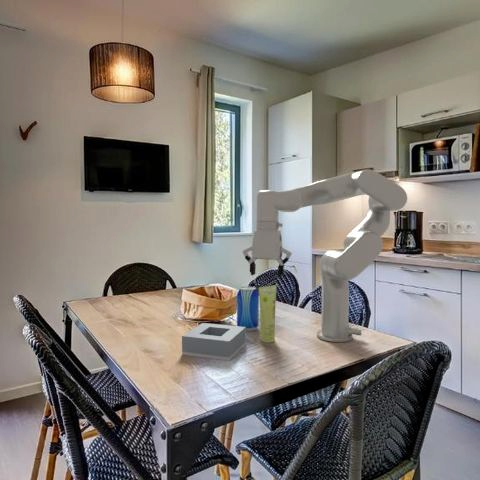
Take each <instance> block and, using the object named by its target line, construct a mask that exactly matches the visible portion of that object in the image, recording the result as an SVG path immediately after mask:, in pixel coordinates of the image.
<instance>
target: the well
mask: <svg viewBox="0 0 480 480" xmlns="http://www.w3.org/2000/svg"><path fill="white" fill-rule="evenodd" d="M246 332H247V331H246V327H240V326H237V325H228V324H217V323H210V322H209V323H207V322H202V323H200V324H199V325H198V326H197V325H196V326H195V327H194V328H192V329H191V330H189V331H188V332H186V333H184V334H183V335H182V336H181V355H182V356H188V357H190V356H191V357H197V358H203V359H204V358H206V359H214V360H220V361H221V360H222V361H229V362H230V361H231V360H232V359H233V357H235V355H237V353H239V352H240V351H241V350H242V349H243V348H244V347H245V345H246V343H247V342H246V339H247V337H246V335H247V333H246Z"/></svg>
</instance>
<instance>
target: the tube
mask: <svg viewBox="0 0 480 480" xmlns="http://www.w3.org/2000/svg"><path fill="white" fill-rule="evenodd" d="M258 294H259V316H260V317H259V318H260V319H259V321H260V341H261V342H262V343H267V344H268V343H273V342H275V340H276V305H277V304H276V303H277V302H276V301H277V284H274V285H268V286H267V285H266V286H260V287H258Z"/></svg>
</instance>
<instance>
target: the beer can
mask: <svg viewBox="0 0 480 480" xmlns="http://www.w3.org/2000/svg"><path fill="white" fill-rule="evenodd" d="M259 316H260V299H259V291H258V290H257V287H256V286H240V287H239V290H238V291H237V294H236V326H240V327H246V332H254V331H256V330H257V328H258V327H259V326H260V325H259V321H260V319H259V318H260V317H259Z"/></svg>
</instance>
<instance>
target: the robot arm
mask: <svg viewBox="0 0 480 480" xmlns="http://www.w3.org/2000/svg"><path fill="white" fill-rule="evenodd" d="M363 195H364V196H366V195H367V196H368V200H367V201H368V213H367V216H365V218H364V219H362V221H361V222H360V223H359V224H358V225H357V226H356V227H355V228H354V229H353V230H352V231H351V232H349V233H348V234H347V235H346V237H344V240H343V248H344V251H343V250H339V249H331V250H327V251H326V252H325V253H323V254H322V256H321V257H320V261H319V263H320V264H319V268H320V270H319V271H320V277H321V318H320V319H321V321H320V323H321V324H320V325H321V326H320V327H321V329H319V330H318V331H317V332H316V336H317V338H319V339H320V340H322V341H326V342H331V343H333V342H334V343H344V342H345V343H346V342H349V341H352V339H353V336H354V335H356V336H362V329H359V328H356V327H354V328H353V327H350V326H351V325H350V323H349V311H350V310H349V308H350V307H349V305H350V304H349V303H350V302H349V301H350V286H349V285H350V284H349V281H352V280H354V279H355V278H357V277H358V276H359V275H360V274H361V273H362V272H364V271H365V270H366V269H367V268H368V267H369V266H370V265H371V264H372V263H373V262H374V261H375V260H376V259H378V257H379V256H380V254H381V253H382V251H383V246H384V243H383V238H382V236H383V235H384V234H385V233H386V232H387V230H388V228H389V227H390V222H391V212H394V211H395V212H396V211H399V210H402V209H403V208H404V207H405V205H406V204H407V202H408V193H407V192H406V191H405V189H404V188H403V187H402V186H401V185H399V184H397V183H395V182H394V181H393V180H391V179H389V178H387V177H385V176H384V175H382V174H380V173H379V172H377V171H375V170H372V169H362V170H358V171H354V172H353V171H352V172H350V173H345V174H342V175H339V176H338V175H337V176H334V177H331V178H326V179H322V180H319V181H316V182H313V183H310V184H306V185H304V186H299V187H296V188H293V189H292V188H291V189H288V190H278V191H277V190H273V189H271V190H270V189H269V190H268V189H265V190H263V189H262V190H259V191H258V192H257V194H256V228H255V230H254V231H253V237H252V244H251V246H250V247H247V248H246V249H244V250H242V253H243V255H244V259H245V260H246V261H247V262H248V264H249V273H250V276H254V275H256V267H257V265H256V260H258V259H259V260H276V261H277V263H278V266H277V277H278V278H281V277H282V276H283V275H284V272H285V270H284V267H285V266H284V265H285V264H286V263H287V262H288V261H289V260H290V258H291V256H292V254H293V253H292V252H291V251H289V250H287V249H286V248H284V247H283V240H282V238H283V237H282V232H281V230H279V229H280V228H283V223H280V221H279V212H282V213H295V212H298V210H300V209H302V208H307V207H311V206H319V205H320V206H321V205H327V204H332V203H336V202H341V201H344V200H347V199H350V198H355V197H358V196H363ZM249 252H251V256H250V254H249ZM283 254H284V255H286V256H285V257H284V258H282V257H283Z"/></svg>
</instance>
